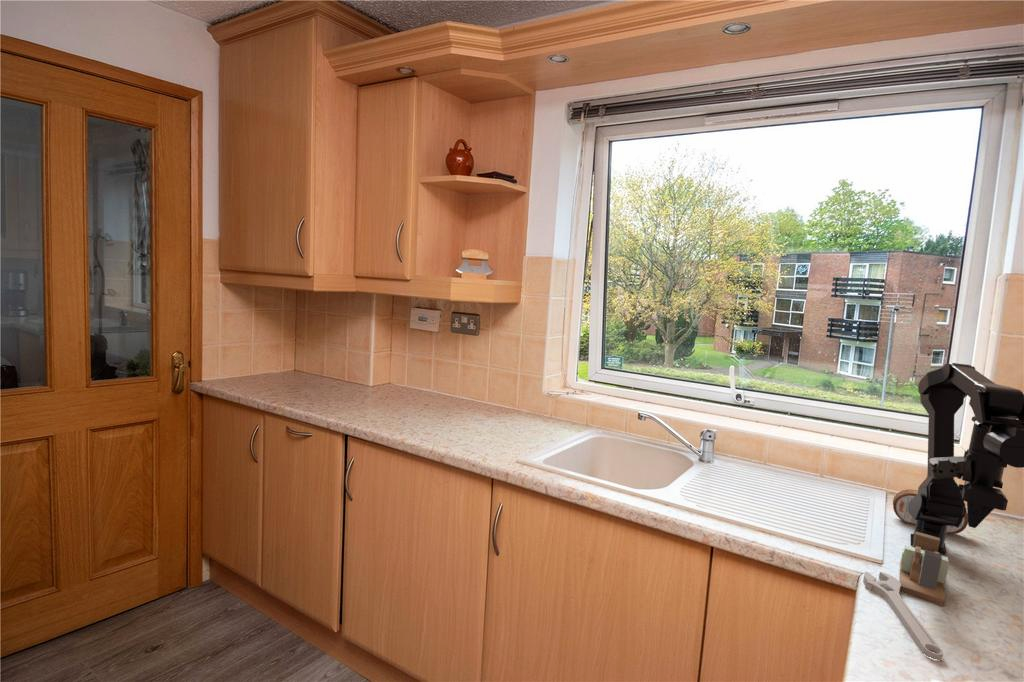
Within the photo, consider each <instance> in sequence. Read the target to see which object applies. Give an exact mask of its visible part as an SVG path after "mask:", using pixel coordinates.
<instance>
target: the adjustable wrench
mask: <svg viewBox="0 0 1024 682" xmlns="http://www.w3.org/2000/svg"><path fill="white" fill-rule="evenodd" d="M878 579H879V580H877V577H875V576H874V575H873V574H871V573H870V572H868V571H865V572H864V573H863V579H862V583H863V584H864V586H865V587H864V588H865V589H867V590H869V591H872V592H873V593H875V594H877V595H878V596H880V597H881V598H883V599H884V600H885V601H886V603H887V605H889V607H890V609H891V610H892V611H893V613H894V614H895V615H896V617H897V618H898V620H899V621H900V624H901V625H902V626H903V628H904V630H906V632H907V633H908V635H909V636H910V638H911V639H912V641H913V642H914V644H915V645H916V646H917V648H918V649H919V650H921V651H922V652H921V651H920V652H921V654H922V653H923V654H925V655H926V656H928V657H931V658H933V659H937V660H941V659H943V658H944V657H943V655H944V650H942V648H941V647H940V646H939V644H938V643H937V642H936V640H935V639H934V638H933V637H932V635H931V634H930V632H928V630H927V629H926V628H925V626H924V625H923V624H922V622H921V621H920V619H918V618H917V616H916V614H914V612H913V611H912V610H911V608H910V607H909V606H908V605H907V603H906V602H905V600H904V599H903V598H902V597H901V595H900V593H901V592H900V587H901V583H900V582H899V580H900V579H897V578H896V577H894V576H892V575H891V574H888V573H886V572H883V571H879V575H878ZM933 652H934V653H933ZM923 654H922V655H923Z"/></svg>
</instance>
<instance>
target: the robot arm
mask: <svg viewBox="0 0 1024 682" xmlns="http://www.w3.org/2000/svg"><path fill="white" fill-rule="evenodd" d="M917 390H918V394H919V397H920V398H919V399H920V400H919V401H920V404H921V406H922V407H923V409H924V410H925V411H926V413H927V415H928V429H927V430H928V431H927V432H928V433H927V438H928V439H927V474H926V477H925V479H924V480H923V481H922V482H921V483H920V485H919V486H918V487H917V488H918V494H917V495H916V496H915V497H914V498H913V499H912V500H911V501H910V502H909V504H908V512H909V513H910V515H911V516H912V517H913V518H914V519H915V520H916V525H914V532H913V533H910V545H911V546H913V543H914V538H915V533H916V532H920V533H923V534H927V535H931V536H934V537H938V538H940V544H939V549H938V552H939V553H940V554H941V555H943V556H944V555H947V548H946V547H947V546H946V543H945V541H946V537H947V534H946V533H947V528H948V525H949V526H954V527H958V528H959V526H960V524H961V522H962V520H963V517H964V515H965V513H966V511H967V513H968V524H967V526H968V527H969V528H973V529H976V528H977V527H978V526H980V524H981V523H982V521H984V520H985V519H986V518H987V516H989V515H990V514H991V513H992V512H993V511H994V510H998V511H1007V506H1008V503H1009V500H1008V498H1007V496H1006V494H1005V493H1004V492H1003V490H1002V489H1003V485H1004V483H1003V481H1002V480H1003V476H1004V472H1005V469H1006V468H1007V467H1008V466H1009V467H1013V468H1016V469H1017V468H1018V469H1019V468H1020V469H1022V468H1024V393H1023V391H1021V390H1020V389H1019V388H1014V387H1011V386H1006V385H1001V384H997V383H995V382H994V381H992V380H991V379H989V378H988V377H986V376H985V375H984V374H982V373H981V372H979V371H978V370H976V367H975V366H972V365H971V364H964V363H958V362H957V363H956V362H949V363H948V362H947V363H945V364H944V365H943V366H942V367H940V368H937V369H935V370H932V371H928V372H927V373H926V374H924V376H922V378H921V379H920V380H919V383H918V386H917ZM967 396H968V397H969V398H970V399H969V403H968V404H969V406H970V407H971V409H972V412H973V416H972V417H971V421H972V422H974V423H973V426H972V430H971V435H970V436H971V437H970V441H969V446H968V449H966V450H964V455H963V456H955V415H956V413H957V412H958V411H959V410H960V409H961V407H962V406H963V405H964V401H965V398H966V397H967ZM955 478H956V479H958V480H961V481H962V482H963V481H964V484H960V483H959V484H958V483H957V481H956V480H955ZM965 502H966V503H965Z"/></svg>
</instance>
